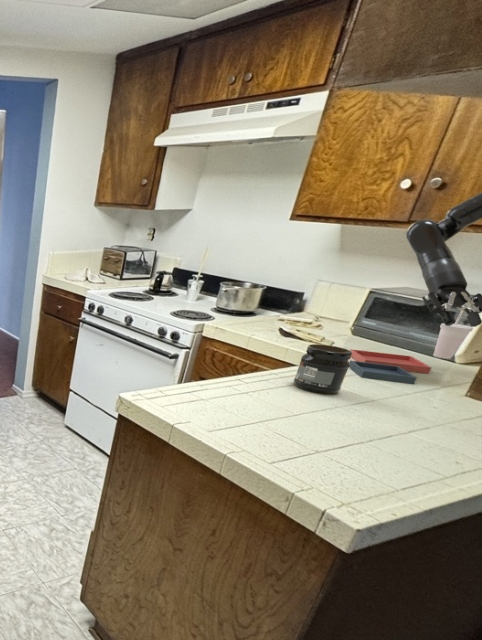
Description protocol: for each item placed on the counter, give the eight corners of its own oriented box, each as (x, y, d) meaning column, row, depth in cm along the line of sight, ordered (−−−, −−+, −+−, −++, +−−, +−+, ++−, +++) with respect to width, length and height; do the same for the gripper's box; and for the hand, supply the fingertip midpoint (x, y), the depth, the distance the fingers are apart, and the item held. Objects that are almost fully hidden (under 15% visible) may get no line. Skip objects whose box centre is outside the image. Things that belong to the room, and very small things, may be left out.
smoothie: (443, 354, 143) (465, 309, 138) (464, 360, 137) (488, 313, 132) (420, 353, 144) (441, 308, 138) (440, 359, 138) (463, 313, 132)
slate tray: (396, 372, 151) (399, 366, 150) (413, 384, 141) (416, 377, 140) (347, 366, 156) (350, 360, 155) (361, 377, 146) (363, 370, 145)
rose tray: (408, 361, 162) (411, 356, 161) (428, 373, 150) (431, 367, 149) (348, 354, 169) (350, 349, 168) (363, 365, 157) (365, 359, 156)
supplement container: (335, 386, 137) (350, 347, 133) (342, 397, 129) (358, 356, 125) (290, 379, 143) (303, 341, 138) (294, 389, 135) (308, 349, 130)
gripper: (428, 268, 139) (448, 317, 132) (483, 270, 137) (506, 318, 131) (405, 284, 146) (423, 330, 139) (457, 285, 144) (478, 332, 138)
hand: (463, 324), depth 135 cm, fingers closed on smoothie, 6 cm apart
